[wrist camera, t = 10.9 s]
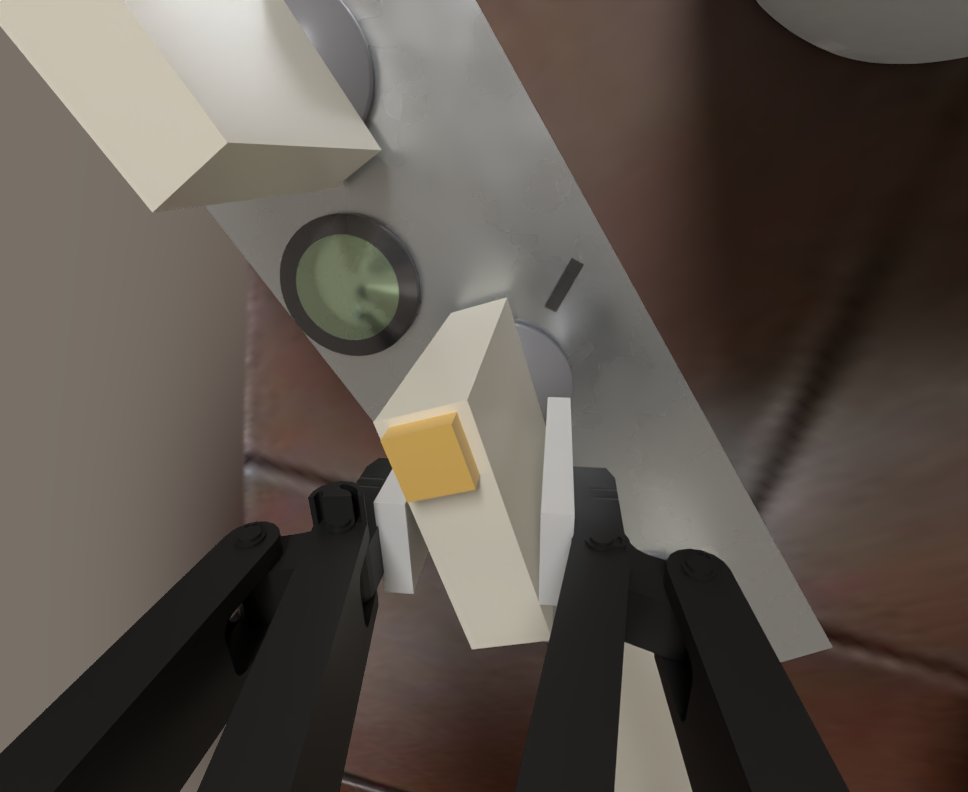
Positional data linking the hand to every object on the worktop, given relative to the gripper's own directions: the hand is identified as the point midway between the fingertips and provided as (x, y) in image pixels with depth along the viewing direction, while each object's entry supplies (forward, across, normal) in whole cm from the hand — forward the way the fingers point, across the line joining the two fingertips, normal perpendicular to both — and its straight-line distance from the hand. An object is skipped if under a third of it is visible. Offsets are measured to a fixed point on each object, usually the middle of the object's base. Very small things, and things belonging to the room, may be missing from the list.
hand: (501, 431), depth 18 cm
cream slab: (+3, -7, +12) cm, 14 cm away
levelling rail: (+4, 0, 0) cm, 4 cm away
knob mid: (+3, 0, 0) cm, 3 cm away
